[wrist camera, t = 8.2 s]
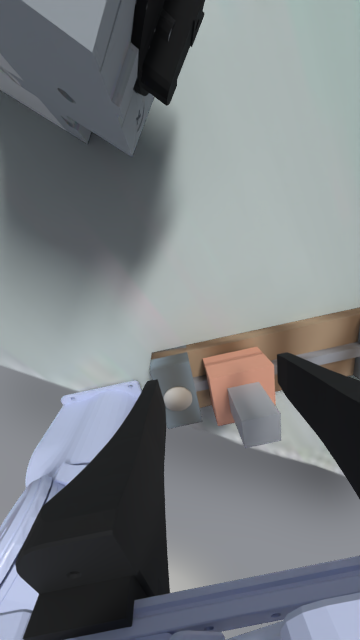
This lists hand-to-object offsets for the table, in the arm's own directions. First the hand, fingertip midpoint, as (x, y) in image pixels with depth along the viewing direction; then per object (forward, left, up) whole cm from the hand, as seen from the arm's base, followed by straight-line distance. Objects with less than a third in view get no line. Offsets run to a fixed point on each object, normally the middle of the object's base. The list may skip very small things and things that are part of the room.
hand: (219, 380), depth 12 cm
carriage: (+3, -7, -9) cm, 11 cm away
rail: (+8, -7, -10) cm, 15 cm away
